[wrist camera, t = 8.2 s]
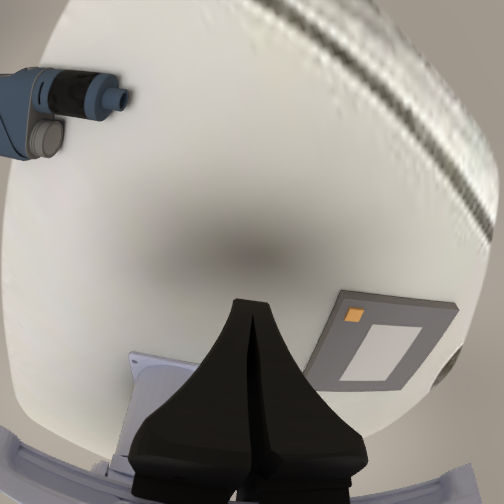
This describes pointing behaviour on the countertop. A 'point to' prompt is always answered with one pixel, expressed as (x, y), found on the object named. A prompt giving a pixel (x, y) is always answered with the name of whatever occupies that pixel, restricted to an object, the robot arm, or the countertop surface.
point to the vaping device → (51, 107)
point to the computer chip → (376, 342)
